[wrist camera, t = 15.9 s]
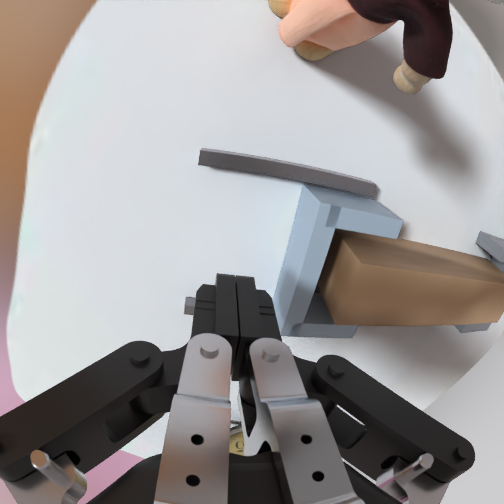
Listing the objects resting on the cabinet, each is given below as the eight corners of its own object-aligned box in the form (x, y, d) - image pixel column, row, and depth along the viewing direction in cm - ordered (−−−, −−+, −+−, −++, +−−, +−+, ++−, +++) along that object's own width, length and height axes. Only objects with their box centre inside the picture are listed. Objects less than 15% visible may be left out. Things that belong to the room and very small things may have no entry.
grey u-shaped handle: (470, 310, 21) (486, 330, 18) (442, 310, 20) (460, 333, 17) (504, 240, 17) (526, 256, 15) (480, 231, 17) (505, 249, 14)
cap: (337, 307, 18) (352, 337, 16) (272, 302, 18) (280, 335, 15) (376, 200, 15) (403, 220, 12) (303, 184, 14) (320, 202, 12)
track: (322, 317, 19) (325, 325, 18) (185, 305, 17) (184, 314, 17) (369, 180, 14) (376, 184, 14) (201, 148, 13) (200, 150, 12)
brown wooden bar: (469, 291, 20) (497, 322, 16) (312, 275, 17) (335, 324, 13) (485, 257, 18) (518, 285, 14) (329, 223, 16) (361, 263, 12)
